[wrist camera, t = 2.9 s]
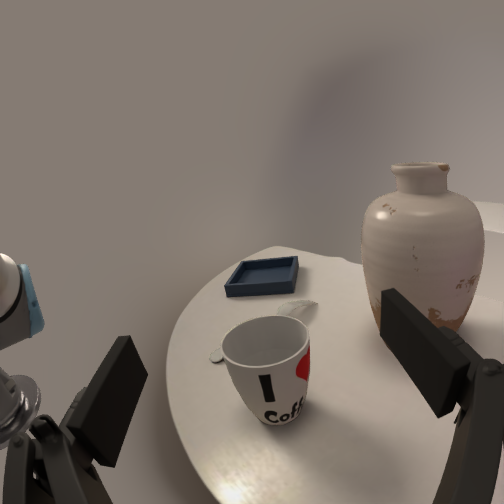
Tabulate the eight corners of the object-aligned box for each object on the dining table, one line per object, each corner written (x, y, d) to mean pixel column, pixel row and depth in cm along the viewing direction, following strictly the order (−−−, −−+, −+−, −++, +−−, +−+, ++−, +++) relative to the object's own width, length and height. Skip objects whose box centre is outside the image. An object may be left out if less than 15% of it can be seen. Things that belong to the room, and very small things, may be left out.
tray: (226, 297, 58) (224, 285, 57) (243, 270, 70) (241, 261, 69) (293, 293, 54) (291, 280, 53) (298, 266, 67) (297, 255, 66)
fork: (212, 367, 40) (205, 354, 39) (308, 300, 50) (305, 287, 49) (221, 376, 38) (215, 363, 37) (319, 304, 48) (317, 291, 47)
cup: (265, 448, 23) (245, 381, 20) (229, 403, 30) (207, 336, 27) (330, 409, 26) (328, 337, 23) (287, 374, 33) (277, 306, 30)
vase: (432, 395, 23) (459, 172, 16) (339, 343, 37) (324, 171, 30) (482, 327, 30) (496, 163, 23) (403, 298, 43) (398, 160, 36)
